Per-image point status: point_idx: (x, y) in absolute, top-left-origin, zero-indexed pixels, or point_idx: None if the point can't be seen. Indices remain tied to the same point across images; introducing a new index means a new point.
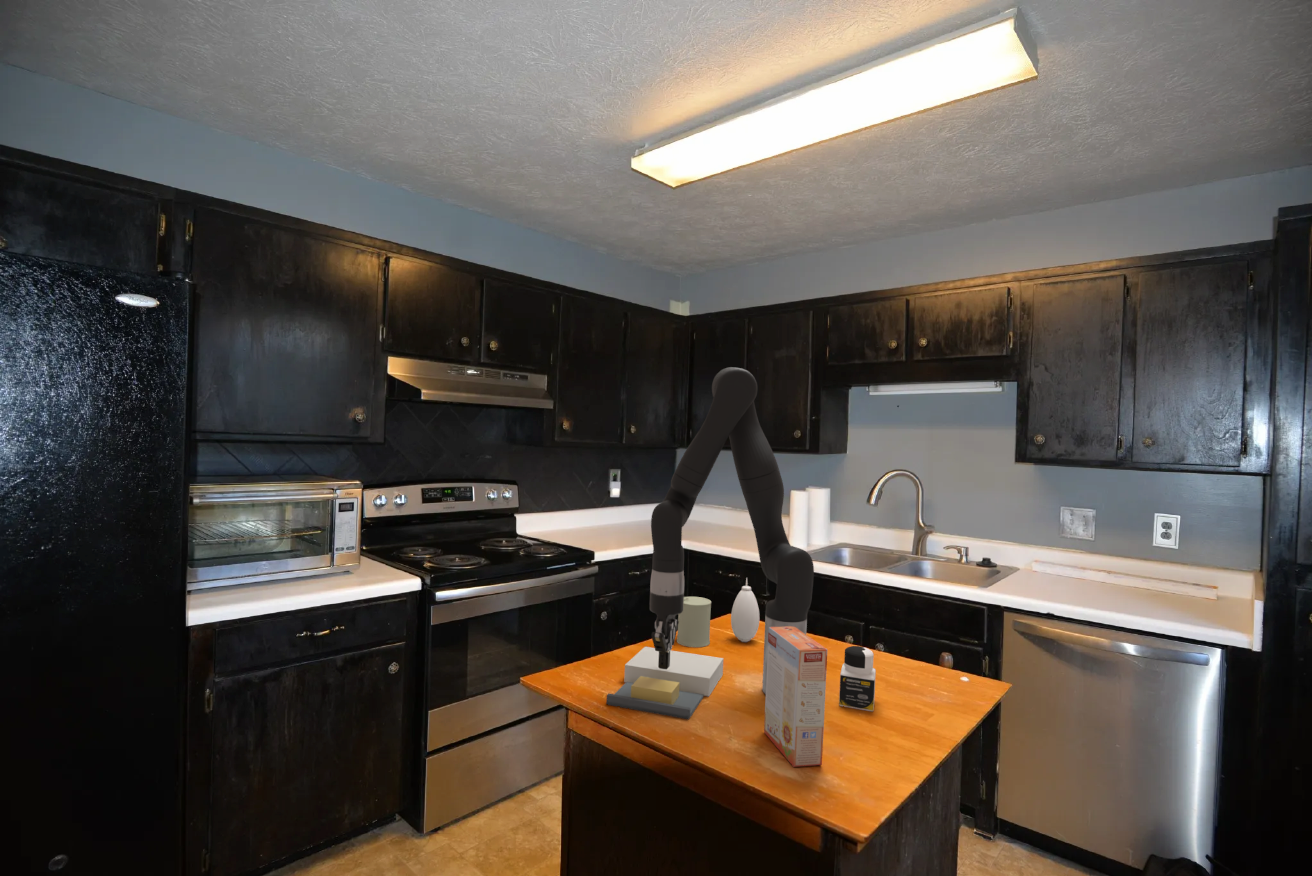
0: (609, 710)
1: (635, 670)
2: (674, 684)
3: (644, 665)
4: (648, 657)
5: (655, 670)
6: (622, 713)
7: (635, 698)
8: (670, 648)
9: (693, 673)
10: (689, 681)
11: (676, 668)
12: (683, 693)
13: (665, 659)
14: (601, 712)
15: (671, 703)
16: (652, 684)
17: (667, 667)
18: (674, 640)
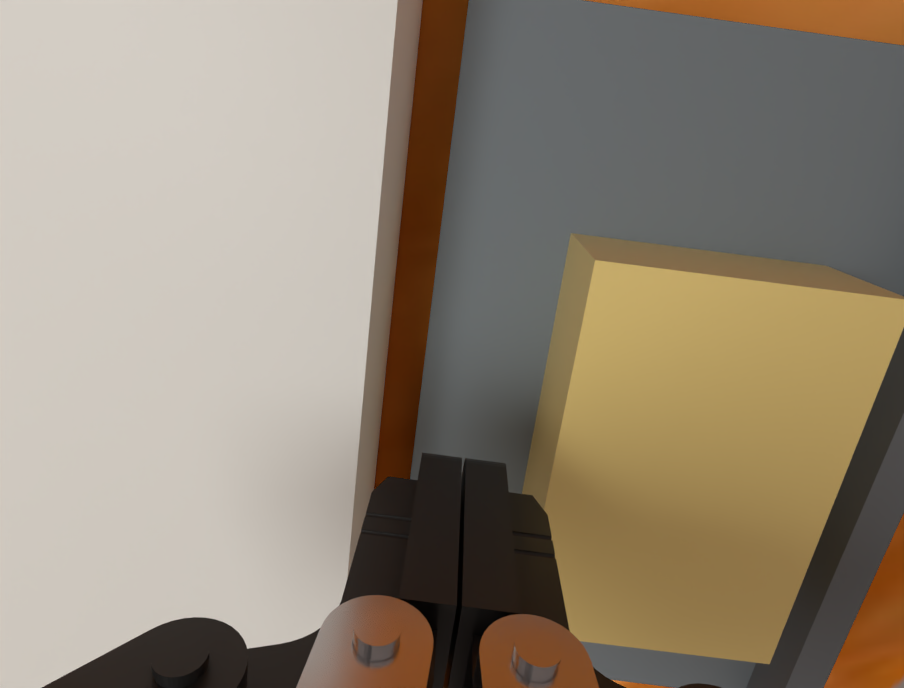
0: (855, 652)
1: None
2: (668, 307)
3: None
4: (51, 651)
5: (351, 544)
6: (900, 576)
7: (846, 568)
8: (415, 640)
9: (306, 126)
10: (393, 162)
11: (224, 356)
12: (494, 201)
13: (557, 573)
14: (890, 685)
15: (841, 272)
16: (708, 512)
17: (503, 470)
18: (81, 679)
